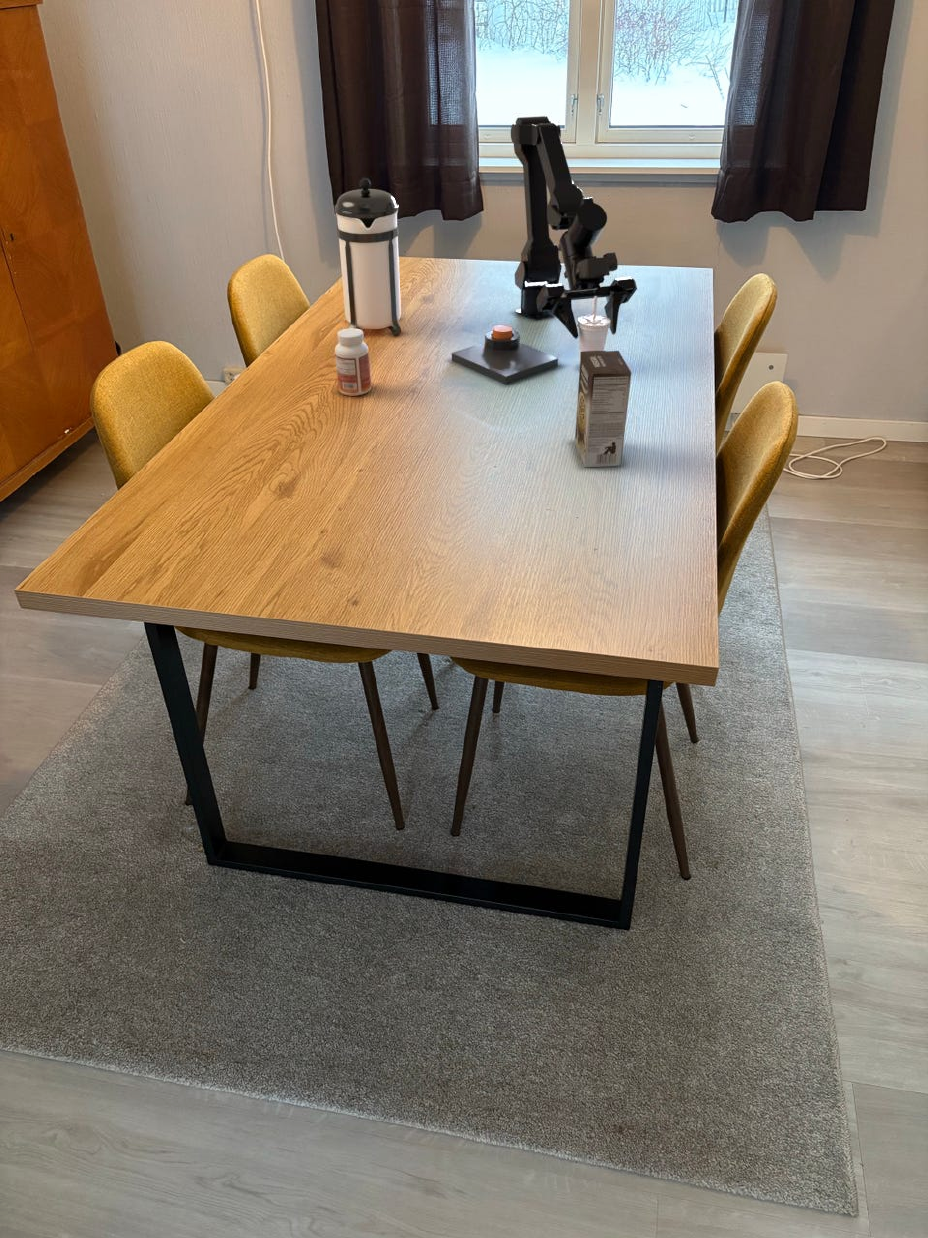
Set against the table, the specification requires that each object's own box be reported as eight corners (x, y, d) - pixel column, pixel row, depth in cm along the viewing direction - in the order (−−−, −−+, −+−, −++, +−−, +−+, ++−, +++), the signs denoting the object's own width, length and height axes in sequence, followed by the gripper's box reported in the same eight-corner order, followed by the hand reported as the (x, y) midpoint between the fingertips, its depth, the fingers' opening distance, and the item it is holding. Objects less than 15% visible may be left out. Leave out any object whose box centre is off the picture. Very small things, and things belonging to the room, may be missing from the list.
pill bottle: (364, 381, 180) (360, 324, 173) (376, 392, 176) (372, 334, 169) (333, 387, 178) (328, 329, 171) (345, 399, 174) (340, 340, 167)
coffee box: (572, 442, 159) (579, 350, 149) (610, 441, 159) (619, 348, 150) (583, 468, 152) (590, 372, 142) (622, 466, 152) (632, 371, 142)
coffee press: (426, 325, 204) (421, 176, 186) (371, 345, 195) (361, 190, 177) (372, 307, 214) (363, 163, 196) (318, 325, 205) (303, 176, 187)
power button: (488, 336, 190) (488, 327, 189) (503, 331, 192) (503, 323, 191) (501, 341, 188) (502, 333, 187) (516, 337, 190) (516, 328, 189)
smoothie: (606, 362, 187) (612, 292, 179) (606, 375, 182) (613, 303, 173) (573, 361, 188) (578, 291, 179) (573, 374, 182) (578, 302, 174)
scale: (450, 360, 188) (449, 343, 186) (503, 343, 196) (503, 326, 194) (505, 385, 178) (506, 367, 176) (559, 365, 186) (560, 348, 184)
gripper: (544, 240, 171) (561, 320, 170) (638, 232, 175) (656, 310, 174) (528, 272, 182) (545, 347, 180) (617, 264, 186) (634, 337, 184)
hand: (595, 335), depth 179 cm, fingers open, 7 cm apart
